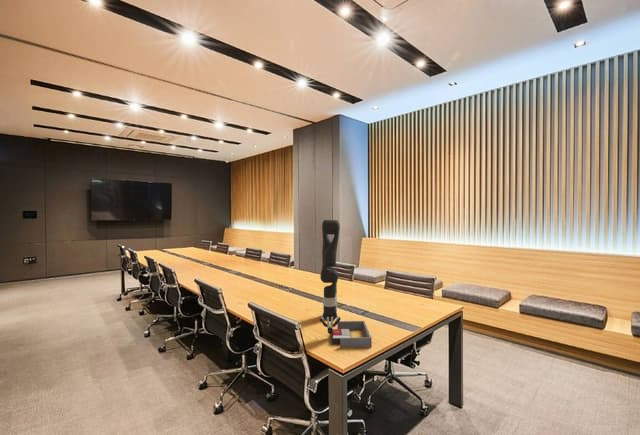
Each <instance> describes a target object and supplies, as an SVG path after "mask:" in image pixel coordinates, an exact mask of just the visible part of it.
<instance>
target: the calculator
mask: <svg viewBox="0 0 640 435" xmlns="http://www.w3.org/2000/svg"><path fill="white" fill-rule="evenodd" d="M340 338H353V337H352V334H351V330H349V329H341V330H340V329H337V328H333V332H332V333H331V344H332V345H334V346H335V345H337V346H338V345H339V346H340Z"/></svg>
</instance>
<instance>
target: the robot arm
mask: <svg viewBox="0 0 640 435" xmlns="http://www.w3.org/2000/svg"><path fill="white" fill-rule="evenodd" d="M340 225H341V224H340V221H339V220H337V219H324V220H323V221H322V224H321V232H322V246H321V247H322V249H321V250H322V251H321V252H322V253H321V255H322V256H321V258H322V264H321V265H322V267H321V272H320V280H321V282H322V283H323V284H324V283H325V284H330V285H325V286H324V287H323V309H322V310H323V311H322V312H323V313H322V315H321V316H319V321H320V323H321V324H322V325H323V327H325V328H327V333H328V335H332V332H333V329H334V328H335V327H337V324H338V322H339V321H342V320H341V317H340V316H338V300H337V299H338V288H337V286H338V285H337V284H338V281H339V273H338V271H337V269H330V268H334V267H336V265H337V250H338V245H339V238H340V231H341V230H340V229H341V227H340ZM329 235H331V236H332V235H333V239H332V240H331V238H330V237H329Z"/></svg>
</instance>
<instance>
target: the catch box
mask: <svg viewBox="0 0 640 435" xmlns="http://www.w3.org/2000/svg"><path fill="white" fill-rule="evenodd" d="M336 327H337V328H336V329H340V330H341V329H349V330H350V331H352V330H363V333H364V336H365V337H361V336H360V337H352V338H340V345H339V346H340V347H339V348H341V349H342V348H347V349H348V348H372V344H373V342H372V336H371V334H370V330H369V329H368V327H367V324H366V321H365V320H340V321H339V322H338V324H337V325H336Z"/></svg>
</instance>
